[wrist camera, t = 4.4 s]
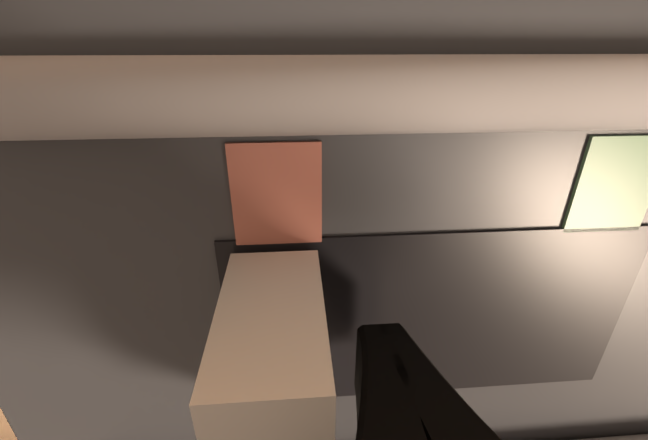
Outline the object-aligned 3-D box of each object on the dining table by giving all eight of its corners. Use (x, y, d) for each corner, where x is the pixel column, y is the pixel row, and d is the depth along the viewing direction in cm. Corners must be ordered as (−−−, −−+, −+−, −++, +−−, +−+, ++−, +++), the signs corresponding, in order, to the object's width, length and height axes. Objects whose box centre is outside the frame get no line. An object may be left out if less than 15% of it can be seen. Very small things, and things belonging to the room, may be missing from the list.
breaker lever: (318, 398, 11) (332, 573, 7) (249, 403, 11) (229, 583, 7) (317, 250, 9) (336, 396, 5) (230, 253, 9) (189, 405, 5)
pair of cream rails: (689, 445, 14) (728, 485, 13) (90, 494, 13) (68, 545, 11) (948, 51, 8) (1066, 54, 7) (-111, 54, 7) (-202, 58, 6)
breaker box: (642, 398, 18) (709, 466, 15) (100, 437, 16) (59, 523, 13) (855, -5, 11) (1058, -19, 8) (-77, -13, 9) (-247, -35, 6)
